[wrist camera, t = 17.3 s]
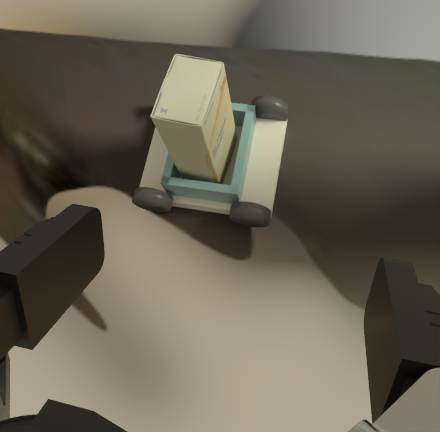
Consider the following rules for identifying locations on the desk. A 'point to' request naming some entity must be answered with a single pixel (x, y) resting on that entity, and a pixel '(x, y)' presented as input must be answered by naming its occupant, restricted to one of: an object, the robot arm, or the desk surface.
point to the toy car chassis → (236, 173)
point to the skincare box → (196, 118)
